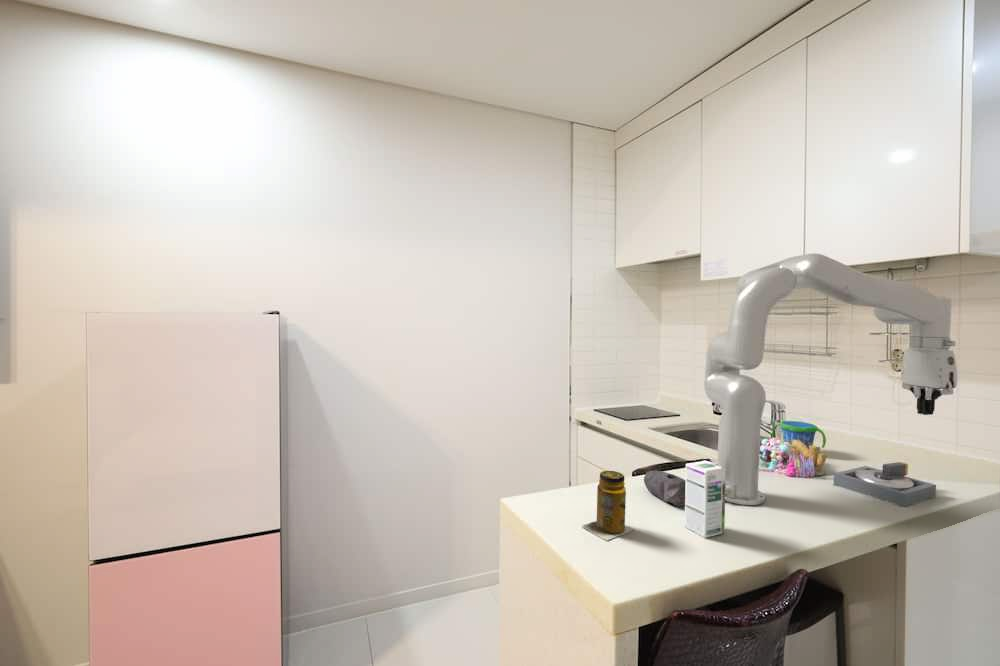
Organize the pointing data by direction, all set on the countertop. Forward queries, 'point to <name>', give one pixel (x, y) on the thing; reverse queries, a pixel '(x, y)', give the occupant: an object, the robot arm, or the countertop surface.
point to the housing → (885, 488)
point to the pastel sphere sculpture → (790, 458)
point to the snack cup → (799, 432)
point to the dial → (888, 476)
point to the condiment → (610, 507)
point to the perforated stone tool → (666, 487)
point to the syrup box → (705, 498)
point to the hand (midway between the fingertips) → (925, 413)
